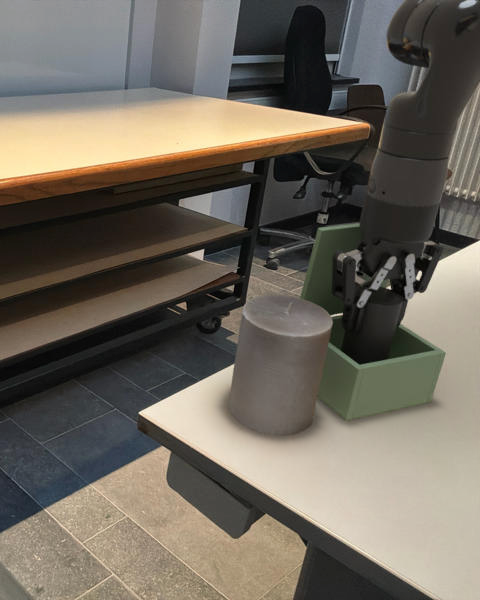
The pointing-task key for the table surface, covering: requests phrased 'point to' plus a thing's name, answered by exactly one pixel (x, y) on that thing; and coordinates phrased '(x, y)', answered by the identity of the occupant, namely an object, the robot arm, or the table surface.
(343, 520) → the table surface
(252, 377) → the pillar candle
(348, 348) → the dark grey cylinder
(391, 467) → the table surface
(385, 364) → the bread box
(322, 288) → the lid
